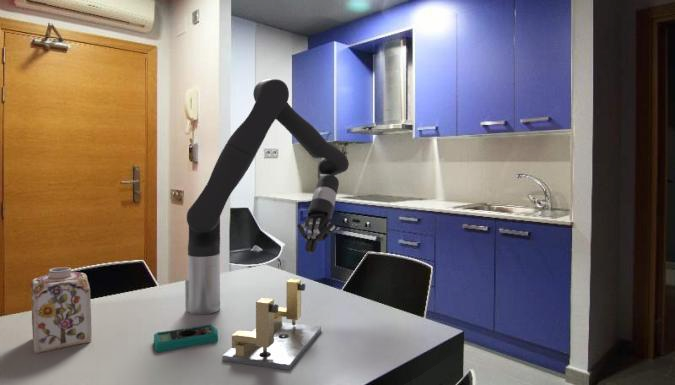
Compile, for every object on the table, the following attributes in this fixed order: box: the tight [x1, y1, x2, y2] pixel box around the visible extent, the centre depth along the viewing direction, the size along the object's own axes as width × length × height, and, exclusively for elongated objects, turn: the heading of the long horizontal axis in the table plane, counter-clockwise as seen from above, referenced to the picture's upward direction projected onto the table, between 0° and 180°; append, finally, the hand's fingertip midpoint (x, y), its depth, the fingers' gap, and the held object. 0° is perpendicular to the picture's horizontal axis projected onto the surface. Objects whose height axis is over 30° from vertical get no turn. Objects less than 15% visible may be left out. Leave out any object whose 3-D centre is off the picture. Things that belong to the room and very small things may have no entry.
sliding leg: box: [274, 278, 306, 325], centre depth 113 cm, size 10×3×12 cm, turn 75°
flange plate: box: [221, 321, 322, 371], centre depth 104 cm, size 16×23×1 cm
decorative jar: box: [30, 266, 93, 354], centre depth 105 cm, size 12×12×18 cm
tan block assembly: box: [231, 297, 283, 357], centre depth 104 cm, size 10×22×12 cm, turn 165°
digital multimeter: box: [153, 324, 219, 353], centre depth 105 cm, size 7×15×3 cm, turn 118°
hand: (309, 252), depth 125 cm, fingers closed
